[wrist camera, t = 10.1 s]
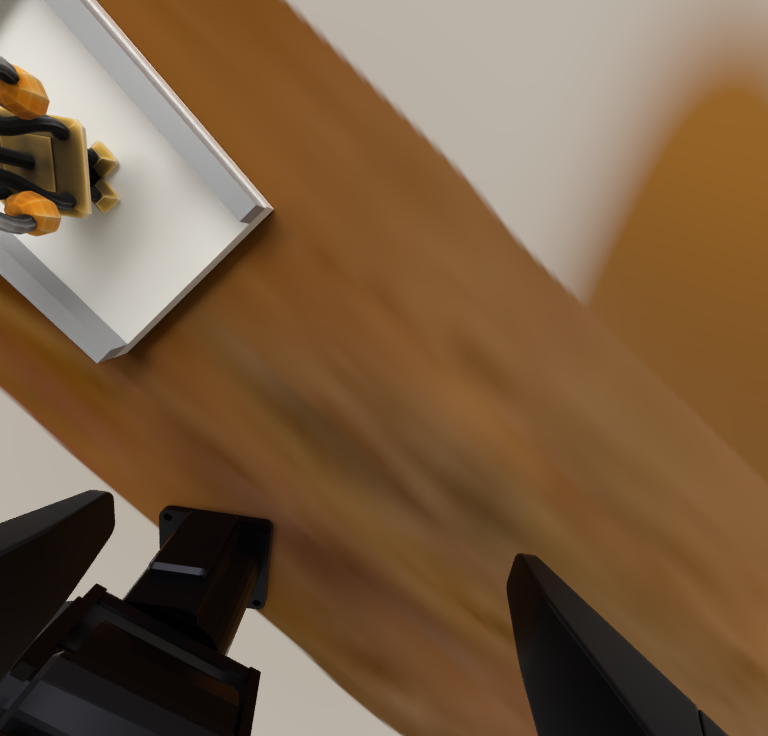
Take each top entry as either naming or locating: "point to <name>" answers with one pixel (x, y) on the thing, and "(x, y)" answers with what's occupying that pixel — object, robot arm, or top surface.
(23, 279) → the tray
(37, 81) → the figurine
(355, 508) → the top surface
